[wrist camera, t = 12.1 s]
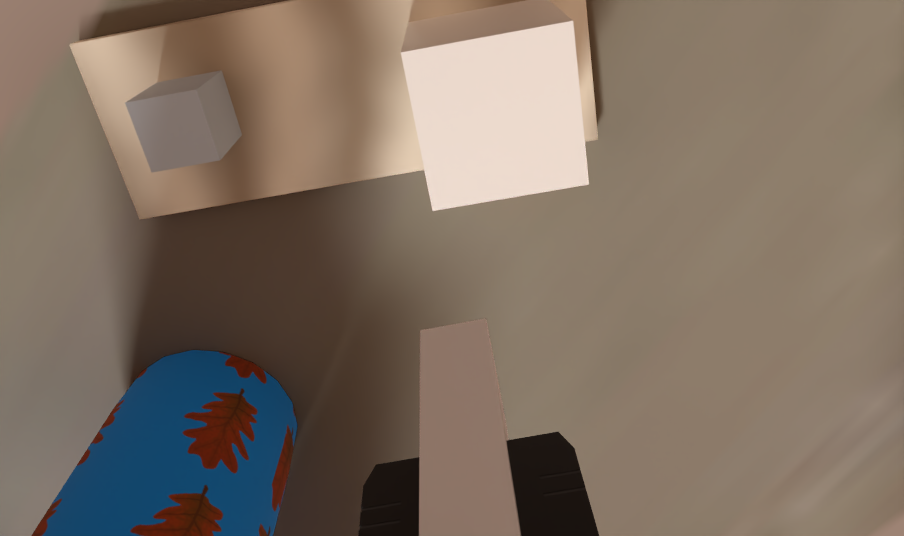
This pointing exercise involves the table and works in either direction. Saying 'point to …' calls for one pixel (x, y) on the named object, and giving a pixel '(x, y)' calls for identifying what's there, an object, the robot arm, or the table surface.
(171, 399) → the thermos
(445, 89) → the white tilted cube
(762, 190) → the table surface
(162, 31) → the board
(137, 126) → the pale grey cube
